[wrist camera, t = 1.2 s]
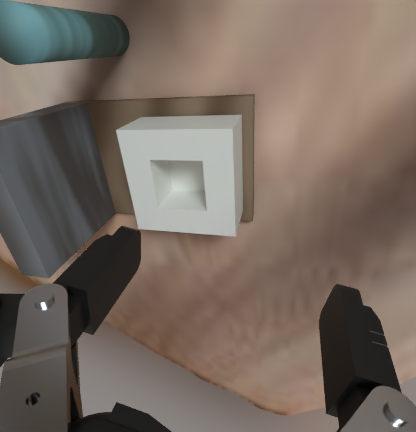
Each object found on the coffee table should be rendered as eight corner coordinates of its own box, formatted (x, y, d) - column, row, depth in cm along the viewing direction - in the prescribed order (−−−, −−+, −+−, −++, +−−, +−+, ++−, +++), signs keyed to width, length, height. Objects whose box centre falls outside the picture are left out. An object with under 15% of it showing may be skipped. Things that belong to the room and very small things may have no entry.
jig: (254, 94, 26) (229, 132, 16) (253, 216, 33) (235, 303, 22) (67, 101, 31) (-51, 134, 20) (99, 207, 38) (22, 274, 27)
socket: (241, 114, 26) (232, 128, 22) (242, 210, 31) (235, 236, 27) (141, 117, 29) (115, 130, 24) (157, 205, 34) (138, 229, 29)
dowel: (125, 13, 25) (19, -5, 16) (132, 54, 27) (40, 63, 17) (93, 16, 26) (-27, 2, 16) (102, 56, 28) (-3, 66, 18)
